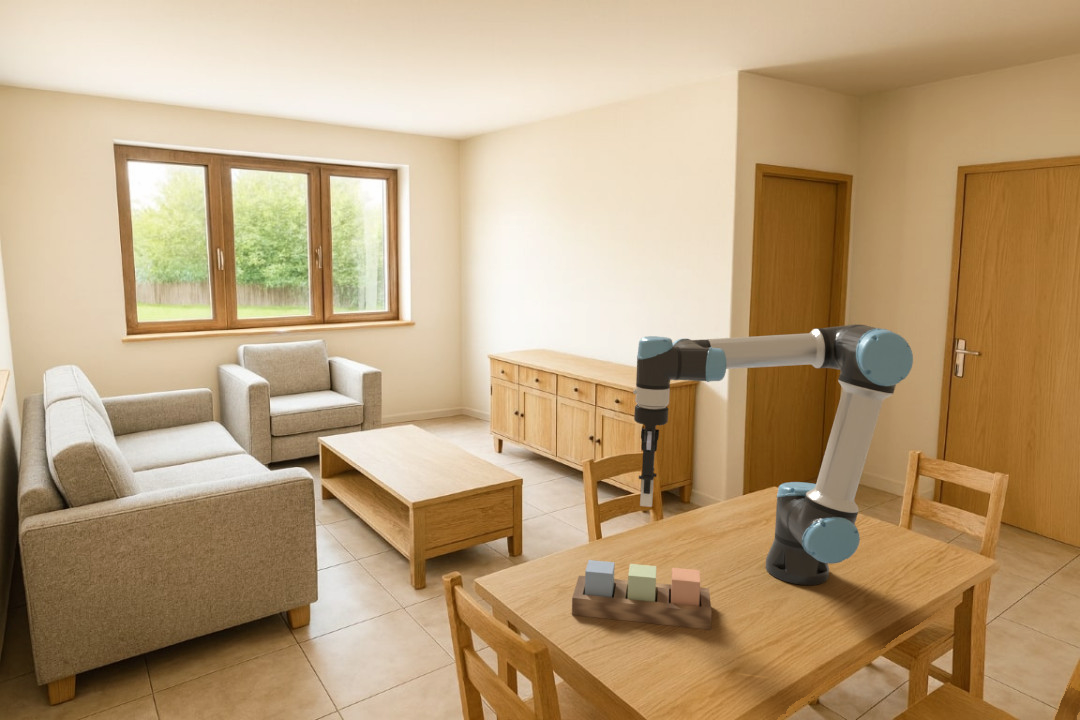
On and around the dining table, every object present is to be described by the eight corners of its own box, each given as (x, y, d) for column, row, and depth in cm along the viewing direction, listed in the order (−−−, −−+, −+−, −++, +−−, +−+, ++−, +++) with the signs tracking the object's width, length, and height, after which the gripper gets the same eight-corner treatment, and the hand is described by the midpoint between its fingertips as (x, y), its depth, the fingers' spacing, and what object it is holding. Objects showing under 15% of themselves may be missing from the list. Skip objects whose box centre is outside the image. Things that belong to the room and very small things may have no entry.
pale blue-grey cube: (613, 590, 161) (614, 562, 160) (611, 603, 155) (612, 573, 154) (587, 588, 162) (588, 559, 161) (584, 600, 156) (585, 571, 155)
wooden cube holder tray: (708, 604, 160) (709, 588, 159) (710, 629, 149) (711, 612, 149) (578, 591, 166) (578, 575, 165) (571, 614, 155) (572, 597, 154)
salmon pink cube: (697, 599, 158) (699, 570, 157) (698, 612, 152) (700, 582, 151) (670, 596, 159) (672, 567, 158) (670, 609, 153) (672, 579, 152)
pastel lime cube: (655, 595, 159) (656, 566, 158) (654, 607, 154) (655, 578, 153) (628, 592, 161) (629, 563, 160) (627, 605, 155) (628, 575, 154)
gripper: (636, 398, 164) (631, 494, 168) (633, 410, 152) (627, 513, 155) (669, 400, 163) (663, 497, 166) (668, 412, 150) (661, 517, 154)
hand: (646, 505), depth 161 cm, fingers closed
